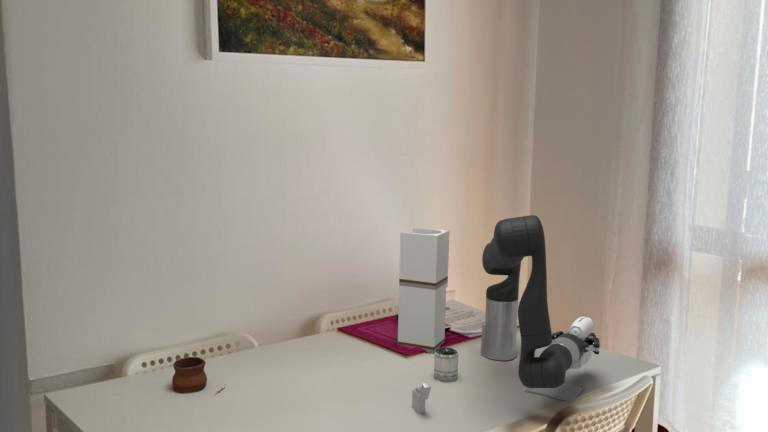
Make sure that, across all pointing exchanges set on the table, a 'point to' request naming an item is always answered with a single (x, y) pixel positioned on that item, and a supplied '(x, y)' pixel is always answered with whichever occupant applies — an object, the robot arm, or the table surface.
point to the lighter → (420, 397)
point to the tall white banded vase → (423, 288)
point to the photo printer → (581, 329)
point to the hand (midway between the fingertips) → (583, 334)
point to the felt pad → (558, 392)
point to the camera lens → (446, 364)
